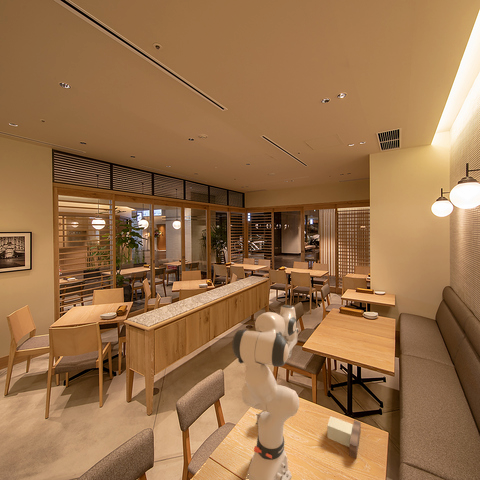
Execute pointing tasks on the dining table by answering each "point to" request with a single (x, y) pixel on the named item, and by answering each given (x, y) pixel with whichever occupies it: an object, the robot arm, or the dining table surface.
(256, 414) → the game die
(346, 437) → the cream rectangular block
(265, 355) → the robot arm
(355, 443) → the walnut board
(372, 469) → the dining table surface
